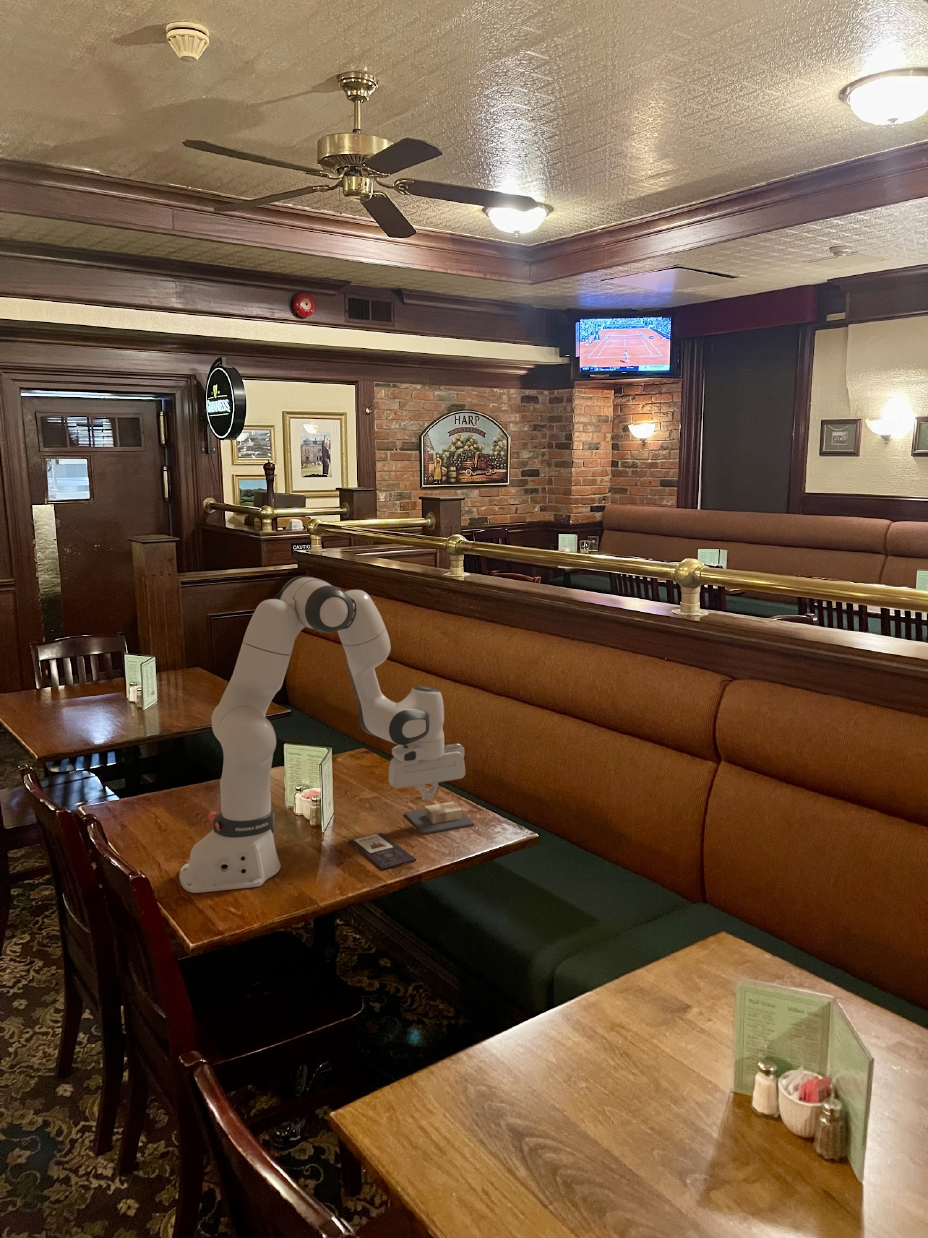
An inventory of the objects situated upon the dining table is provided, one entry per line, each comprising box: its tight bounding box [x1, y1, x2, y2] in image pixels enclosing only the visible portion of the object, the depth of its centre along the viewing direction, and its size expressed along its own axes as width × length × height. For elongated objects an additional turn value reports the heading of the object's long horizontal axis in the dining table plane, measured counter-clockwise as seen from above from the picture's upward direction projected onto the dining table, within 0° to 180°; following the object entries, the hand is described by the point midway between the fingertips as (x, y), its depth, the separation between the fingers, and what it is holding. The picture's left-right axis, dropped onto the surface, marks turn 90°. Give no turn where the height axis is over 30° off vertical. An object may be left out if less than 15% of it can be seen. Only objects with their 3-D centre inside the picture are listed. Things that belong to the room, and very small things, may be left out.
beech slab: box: [424, 801, 463, 824], centre depth 240 cm, size 6×2×8 cm
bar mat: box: [404, 808, 475, 835], centre depth 240 cm, size 14×14×1 cm
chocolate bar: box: [348, 832, 418, 871], centre depth 221 cm, size 9×1×18 cm
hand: (427, 798), depth 237 cm, fingers closed
